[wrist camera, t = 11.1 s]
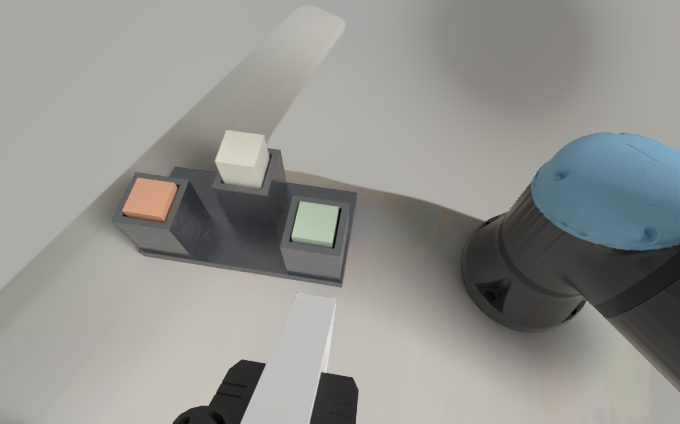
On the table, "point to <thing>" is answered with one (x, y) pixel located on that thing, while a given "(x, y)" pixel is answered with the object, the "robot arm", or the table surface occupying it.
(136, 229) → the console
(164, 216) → the terracotta button
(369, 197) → the table surface
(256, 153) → the ivory button
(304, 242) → the sage button
